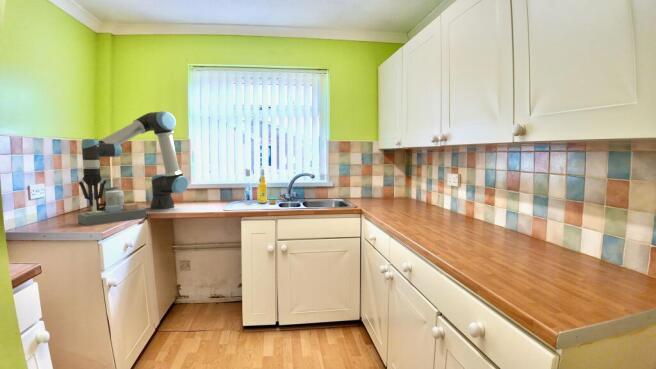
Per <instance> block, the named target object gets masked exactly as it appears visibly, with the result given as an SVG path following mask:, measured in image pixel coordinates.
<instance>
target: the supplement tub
mask: <svg viewBox="0 0 656 369" xmlns="http://www.w3.org/2000/svg"><path fill="white" fill-rule="evenodd" d="M124 195H125V194H124V191H123V190H118V191H107V192H105V198H106V206H112V205H119V206H121V209H123V206H122V204H125V196H124Z"/></svg>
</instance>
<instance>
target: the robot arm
mask: <svg viewBox="0 0 656 369" xmlns="http://www.w3.org/2000/svg"><path fill="white" fill-rule="evenodd" d="M176 126H177V120H176V117H175V116H174V115H173V114H172V113H171V112H170V111H164V110H163V111H162V110H161V111H155V112H154V111H153V112H148V113H145V114H143V115H142V116H140V117H138V118H136V119H134V120H133V121H132V122H131V123H130V124H127V125H126V126H124V127H122V128H121V129H118V130H117V131H115V132H113V133H111V134H109V135H108V136H105V137H104V138H102V139H100V140H98V139H97V138H85V139H82V140H81V156H82V157H81V158H82V167H83V170H82V172H83V177H82V179H81V180H80V181H78V182H77V184H78V185H79V186H80V189H81V192H82V195H83V197H84V199H85V200H88V203H89V204H88V205H89V206H90V207H91V212H97V211H98V210H97V207H96V205H98V204H99V199H102V198H103V190H104V188H105V185H106V183H107V180H105V179H103V178H102V175H101V168H100V167H101V162H100V158H118V157H120V156H122V153H123V148H122V146H121V145H123V144H124V143H126V142H128V141H129V140H131V139H133V138H135V137H137V136H138V135H141V134H142V135H143V134H146V133H147V132H151V131H153V133H154V135H155V136H156V137H157V140H158V144H159V147H160V152H161V157H162V158H161V159H162V161H163V167H164V173H160V174H154V175H152V176H151V193H152V197H151V201H150V205H149V208H150V209H152V210H163V209H164V210H165V209H171V208H175V202H174V199H173V197H172V194H175V195H176V194H177V195H178V194H183V193H184V192H186V190H187V188H188V187H189V181H188V178H186V177H185V175H183V174H184V173H183V171H181V170H180V166H179V163H178V162H179V161H178V158H177V157H178V156H177V153H176V147H175V144H174V138H173V134H174V133H175V131H174V130H175V127H176ZM99 183H100V185H99ZM85 185H87V189H86V186H85ZM98 186H100V187H98ZM98 188H99V190H98Z"/></svg>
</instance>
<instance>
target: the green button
mask: <svg viewBox="0 0 656 369" xmlns="http://www.w3.org/2000/svg"><path fill="white" fill-rule="evenodd" d="M102 211H103V210H97V212H92V211H85V213H86V214H87V215H95V214H103V212H102Z"/></svg>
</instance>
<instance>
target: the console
mask: <svg viewBox="0 0 656 369" xmlns="http://www.w3.org/2000/svg"><path fill="white" fill-rule="evenodd" d="M101 211H102V212H103V214H95V215H87V214H86V212H81V213H77V223H78V224H81V225H82V226H85V227H90V226H97V225H102V224H112V223H117V222H118V223H119V222H126V221H133V220H139V219H147V217H148V216H147V208H143V207H138V209H137V210H128V211H125V210H123V209H121V211H120V212H112V213H107V212H105V210H101Z"/></svg>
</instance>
